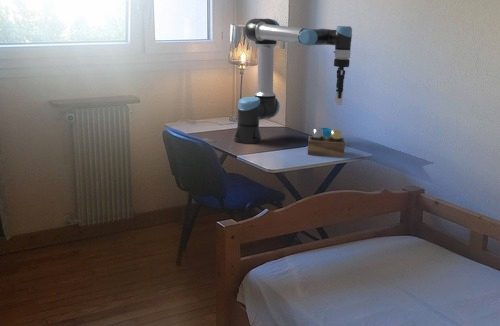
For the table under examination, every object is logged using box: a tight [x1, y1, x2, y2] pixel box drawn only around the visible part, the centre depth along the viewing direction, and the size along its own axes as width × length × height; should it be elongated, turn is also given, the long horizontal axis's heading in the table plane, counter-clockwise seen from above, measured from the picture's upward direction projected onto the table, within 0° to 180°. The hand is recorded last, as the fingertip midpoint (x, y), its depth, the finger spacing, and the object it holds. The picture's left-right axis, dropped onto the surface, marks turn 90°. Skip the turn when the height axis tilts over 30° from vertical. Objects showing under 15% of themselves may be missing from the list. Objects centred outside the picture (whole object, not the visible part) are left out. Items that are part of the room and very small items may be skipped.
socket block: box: [307, 135, 346, 158], centre depth 290 cm, size 12×18×7 cm, turn 84°
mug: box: [319, 127, 333, 137], centre depth 309 cm, size 12×8×8 cm
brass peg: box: [330, 129, 342, 141], centre depth 289 cm, size 5×5×7 cm
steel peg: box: [312, 127, 323, 140], centre depth 290 cm, size 5×5×7 cm
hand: (338, 102), depth 284 cm, fingers open, 11 cm apart
